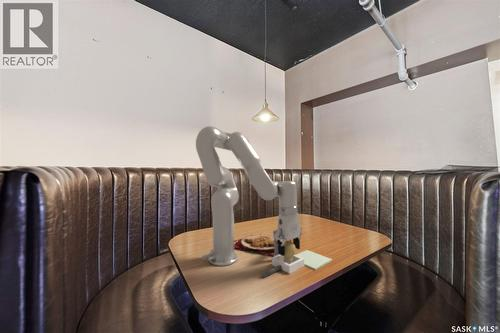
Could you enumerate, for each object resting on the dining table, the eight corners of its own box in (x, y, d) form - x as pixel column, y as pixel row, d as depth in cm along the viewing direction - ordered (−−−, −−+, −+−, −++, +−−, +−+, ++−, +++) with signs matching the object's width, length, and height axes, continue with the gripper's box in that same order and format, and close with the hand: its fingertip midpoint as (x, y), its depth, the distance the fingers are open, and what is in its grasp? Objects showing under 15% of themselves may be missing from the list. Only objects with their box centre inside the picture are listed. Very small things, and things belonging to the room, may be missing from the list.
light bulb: (293, 261, 84) (293, 238, 85) (297, 269, 78) (297, 244, 78) (279, 262, 84) (278, 238, 85) (281, 269, 78) (281, 244, 78)
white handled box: (271, 283, 68) (271, 253, 68) (249, 269, 78) (249, 243, 78) (304, 266, 81) (304, 240, 81) (282, 256, 90) (281, 233, 90)
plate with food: (279, 259, 88) (280, 252, 88) (229, 248, 99) (229, 241, 99) (292, 242, 110) (292, 236, 110) (249, 234, 122) (250, 229, 122)
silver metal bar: (293, 228, 97) (293, 224, 97) (277, 236, 85) (277, 232, 85) (288, 227, 99) (288, 223, 99) (272, 235, 86) (272, 231, 86)
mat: (315, 270, 77) (315, 268, 77) (289, 258, 87) (289, 257, 87) (332, 260, 86) (332, 259, 86) (306, 251, 96) (306, 249, 96)
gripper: (281, 215, 73) (282, 260, 73) (307, 208, 84) (309, 248, 84) (267, 212, 79) (268, 254, 79) (293, 206, 90) (295, 243, 90)
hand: (289, 251), depth 81 cm, fingers open, 9 cm apart
